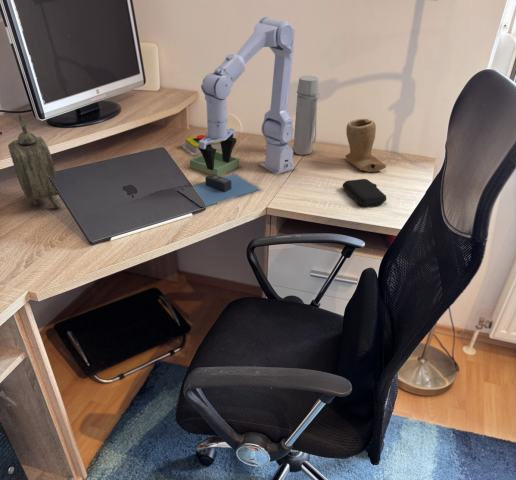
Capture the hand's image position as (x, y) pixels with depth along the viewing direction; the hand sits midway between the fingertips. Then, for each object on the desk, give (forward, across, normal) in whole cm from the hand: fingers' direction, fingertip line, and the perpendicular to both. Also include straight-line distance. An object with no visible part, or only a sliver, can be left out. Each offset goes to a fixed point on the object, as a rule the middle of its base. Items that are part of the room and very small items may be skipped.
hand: (218, 165), depth 155 cm
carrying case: (+8, -26, +39) cm, 47 cm away
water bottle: (+8, -43, +4) cm, 44 cm away
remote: (+7, 0, 0) cm, 7 cm away
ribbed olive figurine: (+7, +42, -33) cm, 54 cm away
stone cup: (+8, -47, +26) cm, 54 cm away
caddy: (+7, -11, -11) cm, 18 cm away
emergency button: (+8, -22, -26) cm, 35 cm away
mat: (+7, +2, +1) cm, 8 cm away
